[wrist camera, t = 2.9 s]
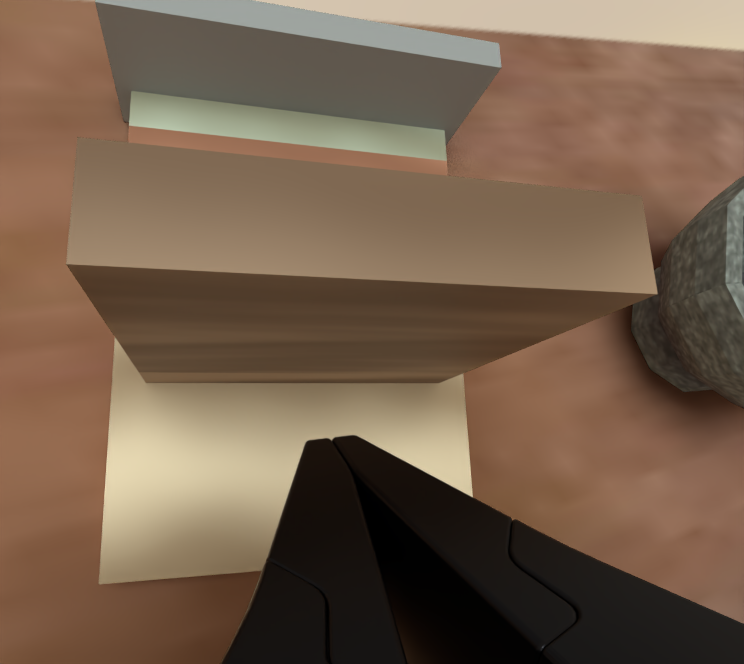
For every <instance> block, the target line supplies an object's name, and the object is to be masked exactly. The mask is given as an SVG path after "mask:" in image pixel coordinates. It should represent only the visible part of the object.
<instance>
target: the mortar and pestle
mask: <svg viewBox="0 0 744 664" xmlns="http://www.w3.org/2000/svg"><path fill="white" fill-rule="evenodd" d="M654 274H655V280H656V287H657V293H658V294H657V295H654V296H652V297H649V298H647V299H645V300H642V301H640V302H637V303H635V304H633V311H632V325H631V331H632V333H633V335H634V337H635V339H636V341H637V343H638V345H639V348H640V350H641V352H642V354H643V356H644V358H645V360H646V362H647V364H648V366H649V368H650V370H652V371H653V372H655V373H656V374H658V375H659V376H661V377H662V378H664V379H665V380H667V381H668V382H670V383H671V384H673V385H674V386H676V387H677V388H679V389H680V390H681V391H683V392H688V391H701V390H714V391H715V392H717V393H718V394H720V395H721V396H723V397H724V398H726V399H727V400H729V401H730V402H731V403H733V404H735V405H738V406H740V407H742V408H744V176H743V177H741V178H739V179H738V180H737V181H735V182H734V183H733V184H732V185H730V186H729V187H728V188H727V189H725V190H724V191H723V192H722V193H720V194H719V195H718V196H717V197H715V198H714V199H713V200H711V201H710V202H709V203H708V204H707V205H706V206H705V207H704V208H703V209H702V210H701V211H700V212H699V213H698V214H697V215H696V216H695V217H694V218H693V219H692V220H691V221H690V222H689V224H688V225H687V226H686V227H685V228H684V229H683V230H682V231H681V232H680V233H679V234H678V235H677V236H676V237H675V238H674V239H673V240H672V242H671V244H670V246H669V247H668V249H667V251H666V253H665V255H664V257H663V259H662V261H661V267H658V268H656V269H655V270H654Z"/></svg>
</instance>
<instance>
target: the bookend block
mask: <svg viewBox="0 0 744 664" xmlns="http://www.w3.org/2000/svg"><path fill="white" fill-rule="evenodd" d="M66 265H67V266H68V268H69V269H70V271H71V272H72V273H73V275H74V276H75V278H76V279H77V281H78V282H79V284H80V285H81V287H82V288H83V290H84V291H85V293H86V294H87V296H88V297H89V299H90V300H91V302H92V303H93V305H94V306H95V308H96V309H97V311H98V312H99V314H100V315H101V317H102V318H103V320H104V321H105V323H106V324H107V326H108V327H109V329H110V330H111V332H112V333H113V335H114V336H115V338H116V339H117V341H118V342H119V344H120V345H121V347H122V348H123V350H124V351H125V353H126V354H127V356H128V357H129V359H130V360H131V362H132V363H133V365H134V366H135V368H136V369H137V371H138V372H139V373H140V375H141V376H142V378H143V379H144V381H145V382H146V383H441V382H443V381H446V380H448V379H451V378H453V377H455V376H458V375H460V374H463V373H465V372H468V371H470V370H473V369H475V368H478V367H480V366H482V365H485V364H487V363H490V362H492V361H495V360H497V359H500V358H502V357H505V356H507V355H509V354H512V353H514V352H517V351H519V350H522V349H524V348H527V347H529V346H532V345H534V344H536V343H539V342H541V341H544V340H546V339H549V338H551V337H554V336H556V335H559V334H561V333H563V332H566V331H568V330H571V329H573V328H576V327H578V326H581V325H583V324H586V323H588V322H590V321H593V320H595V319H598V318H600V317H603V316H605V315H608V314H610V313H613V312H615V311H617V310H620V309H622V308H625V307H627V306H630V305H632V304H635V303H637V302H640V301H642V300H645V299H647V298H649V297H652V296H654V295H657V294H658V293H657V287H656V280H655V274H654V268H653V262H652V256H651V249H650V243H649V237H648V231H647V225H646V218H645V212H644V206H643V200H642V196H638V195H628V194H619V193H609V192H600V191H590V190H580V189H571V188H561V187H552V186H542V185H532V184H523V183H513V182H504V181H494V180H484V179H475V178H465V177H456V176H446V175H436V174H427V173H417V172H408V171H398V170H388V169H379V168H369V167H360V166H350V165H340V164H331V163H321V162H312V161H302V160H292V159H283V158H273V157H264V156H254V155H244V154H235V153H225V152H216V151H206V150H196V149H187V148H177V147H168V146H158V145H148V144H139V143H129V142H120V141H110V140H100V139H91V138H81V137H77V148H76V160H75V171H74V182H73V193H72V205H71V216H70V227H69V238H68V250H67V261H66Z"/></svg>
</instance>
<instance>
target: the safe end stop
mask: <svg viewBox="0 0 744 664" xmlns="http://www.w3.org/2000/svg"><path fill="white" fill-rule="evenodd" d="M95 3H96V7H97V12H98V16H99V20H100V24H101V28H102V32H103V37H104V41H105V45H106V49H107V53H108V58H109V62H110V66H111V70H112V74H113V78H114V83H115V87H116V91H117V95H118V99H119V104H120V108H121V112H122V116H123V120H124V121H125V122H129V118H130V103H131V91H137V92H145V93H153V94H161V95H168V96H176V97H184V98H192V99H200V100H208V101H216V102H224V103H232V104H240V105H248V106H256V107H263V108H271V109H279V110H287V111H295V112H303V113H311V114H319V115H327V116H335V117H343V118H350V119H358V120H366V121H374V122H382V123H390V124H398V125H406V126H414V127H422V128H430V129H437V130H444V131H445V144H446V145H447V143H448V142H449V140H450V139H451V138H452V136H453V135H454V133H455V132H456V131H457V129H458V128H459V126H460V125H461V124H462V122H463V121H464V119H465V118H466V117H467V115H468V114H469V112H470V111H471V110H472V108H473V107H474V105H475V104H476V103H477V101H478V100H479V98H480V97H481V96H482V94H483V93H484V91H485V90H486V89H487V87H488V86H489V84H490V83H491V82H492V80H493V79H494V77H495V76H496V75H497V73H498V72H499V70H500V69H501V59H500V50H499V43H494V42H489V41H483V40H477V39H471V38H466V37H460V36H454V35H448V34H443V33H437V32H431V31H425V30H420V29H414V28H408V27H402V26H397V25H391V24H385V23H379V22H374V21H368V20H362V19H356V18H351V17H345V16H339V15H334V14H328V13H322V12H316V11H310V10H305V9H299V8H293V7H287V6H282V5H276V4H270V3H264V2H259V1H253V0H95Z"/></svg>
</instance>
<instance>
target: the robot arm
mask: <svg viewBox="0 0 744 664" xmlns="http://www.w3.org/2000/svg"><path fill="white" fill-rule="evenodd" d="M220 664H744V624H743V623H740V622H738V621H736V620H733V619H731V618H729V617H727V616H724V615H722V614H720V613H718V612H715V611H713V610H711V609H708V608H706V607H704V606H702V605H699V604H697V603H695V602H692V601H690V600H688V599H686V598H683V597H681V596H679V595H676V594H674V593H672V592H670V591H667V590H665V589H663V588H660V587H658V586H656V585H654V584H651V583H649V582H647V581H645V580H642V579H640V578H638V577H635V576H633V575H631V574H629V573H626V572H624V571H622V570H619V569H617V568H615V567H613V566H610V565H608V564H606V563H604V562H601V561H599V560H597V559H595V558H593V557H591V556H588V555H586V554H584V553H582V552H580V551H577V550H575V549H573V548H571V547H569V546H567V545H565V544H563V543H561V542H559V541H557V540H555V539H553V538H551V537H549V536H547V535H545V534H543V533H541V532H539V531H537V530H535V529H533V528H531V527H530V526H528V525H526V524H524V523H522V522H520V521H518V520H516V519H515V520H513V521H512V519H511V517H509V516H507V515H505V514H503V513H501V512H500V511H498V510H496V509H494V508H492V507H490V506H488V505H486V504H484V503H483V502H481V501H479V500H477V499H475V498H473V497H471V496H469V495H468V494H466V493H464V492H462V491H460V490H458V489H456V488H454V487H453V486H451V485H449V484H447V483H445V482H443V481H441V480H439V479H437V478H436V477H434V476H432V475H430V474H428V473H426V472H424V471H422V470H421V469H419V468H417V467H415V466H413V465H411V464H409V463H407V462H406V461H404V460H402V459H400V458H398V457H396V456H394V455H392V454H390V453H389V452H387V451H385V450H383V449H381V448H379V447H377V446H375V445H374V444H372V443H370V442H368V441H366V440H364V439H362V438H360V437H359V436H356V435H348V436H339V437H334V438H333V439H332V441H331V439H329V438H323V439H314V440H308V441H306V443H305V445H304V448H303V451H302V454H301V457H300V460H299V463H298V466H297V469H296V472H295V475H294V478H293V481H292V484H291V487H290V490H289V493H288V496H287V499H286V502H285V505H284V508H283V511H282V514H281V517H280V520H279V523H278V526H277V528H276V531H275V534H274V537H273V540H272V543H271V546H270V549H269V552H268V555H267V558H266V562H265V564H264V565H263V568H262V571H261V574H260V577H259V580H258V583H257V585H256V588H255V591H254V593H253V596H252V598H251V601H250V603H249V606H248V608H247V611H246V613H245V615H244V617H243V619H242V621H241V623H240V625H239V627H238V629H237V631H236V634H235V636H234V638H233V640H232V642H231V644H230V646H229V647H228V649H227V651H226V653H225V655H224V657H223V659H222V661H221V662H220Z"/></svg>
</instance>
